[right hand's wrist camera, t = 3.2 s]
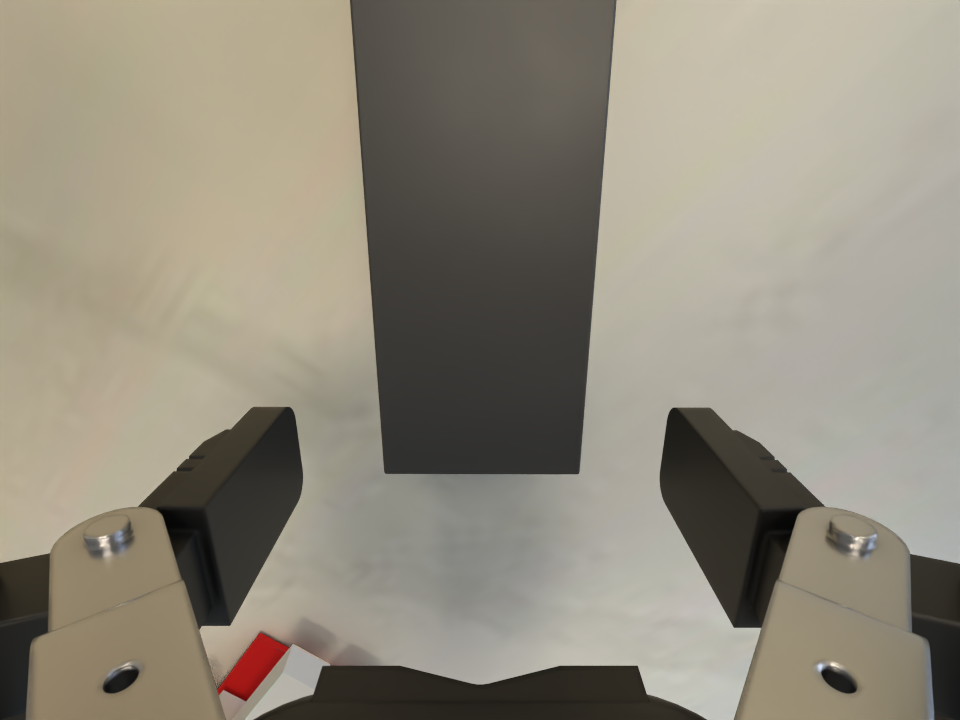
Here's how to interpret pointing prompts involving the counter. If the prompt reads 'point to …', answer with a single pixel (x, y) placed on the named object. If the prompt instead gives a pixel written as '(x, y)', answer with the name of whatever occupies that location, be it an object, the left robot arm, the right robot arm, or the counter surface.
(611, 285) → the counter surface
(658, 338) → the counter surface
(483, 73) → the box
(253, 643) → the toy
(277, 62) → the counter surface
